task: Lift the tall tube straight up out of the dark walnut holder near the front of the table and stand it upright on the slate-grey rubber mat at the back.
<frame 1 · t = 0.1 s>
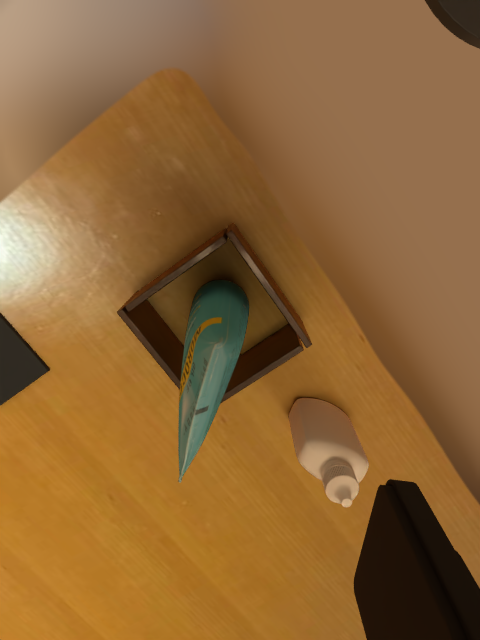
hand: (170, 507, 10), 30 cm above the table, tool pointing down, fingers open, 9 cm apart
tube holder: (219, 307, 40), on the table
eye dropper bottle: (318, 415, 43), on the table
tube: (219, 306, 40), resting in tube holder
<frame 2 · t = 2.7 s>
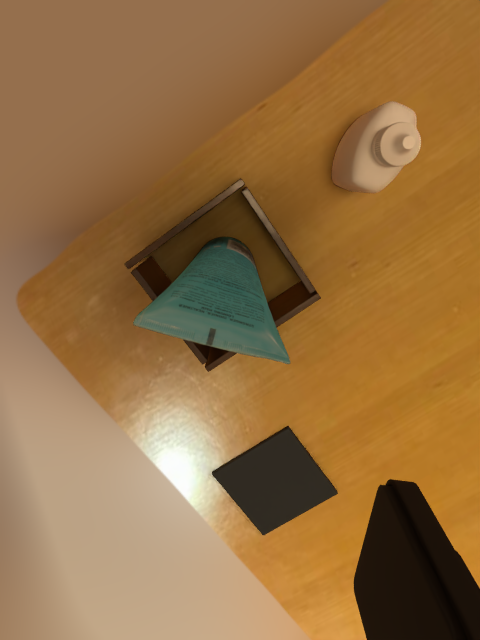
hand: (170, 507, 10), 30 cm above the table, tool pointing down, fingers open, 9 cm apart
mat: (275, 481, 46), on the table
tube holder: (226, 266, 39), on the table
eye dropper bottle: (356, 154, 37), on the table
tube: (226, 266, 39), resting in tube holder
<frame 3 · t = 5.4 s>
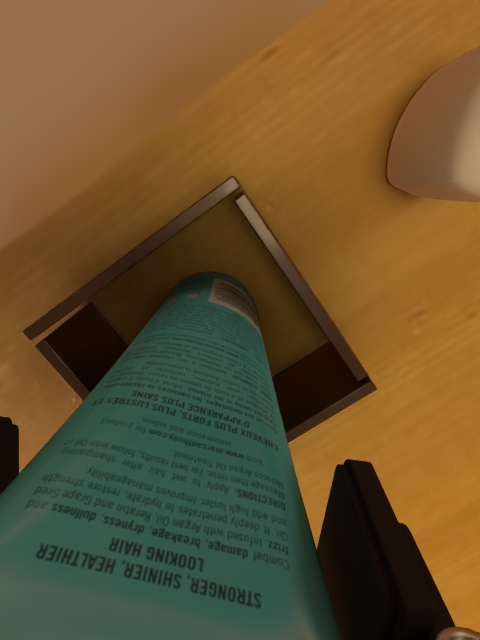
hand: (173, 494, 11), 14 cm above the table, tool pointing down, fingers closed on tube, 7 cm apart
tube holder: (212, 318, 24), on the table
eye dropper bottle: (428, 135, 22), on the table
tube: (212, 317, 25), resting in tube holder, touching gripper
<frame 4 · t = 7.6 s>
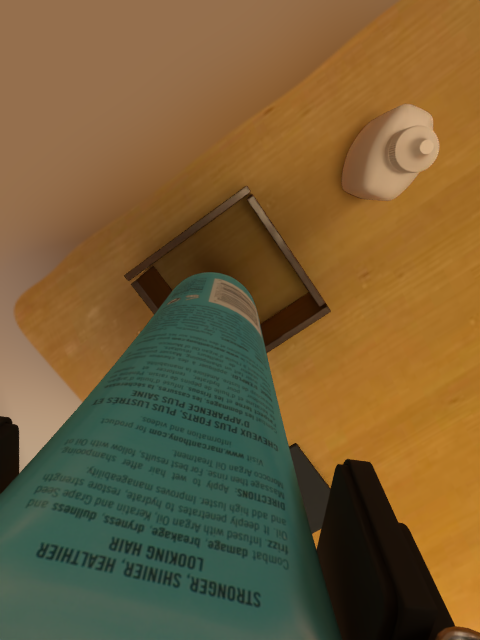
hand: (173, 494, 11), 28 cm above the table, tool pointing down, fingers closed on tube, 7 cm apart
mat: (282, 500, 44), on the table
tube holder: (231, 277, 38), on the table
eye dropper bottle: (367, 160, 35), on the table
tube: (212, 317, 25), point 13 cm above the table, touching gripper
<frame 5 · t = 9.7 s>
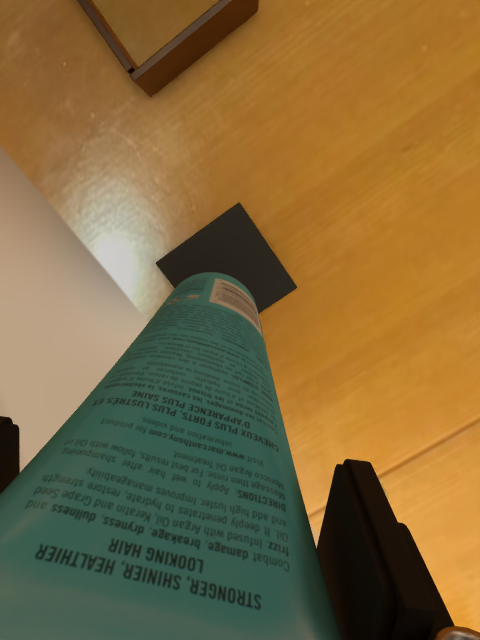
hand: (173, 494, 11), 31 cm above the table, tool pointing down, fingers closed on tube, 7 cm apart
mat: (227, 274, 41), on the table
tube: (213, 317, 25), point 17 cm above the table, touching gripper
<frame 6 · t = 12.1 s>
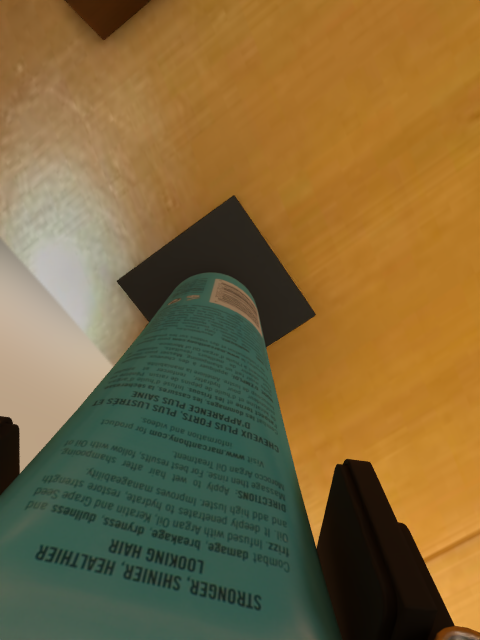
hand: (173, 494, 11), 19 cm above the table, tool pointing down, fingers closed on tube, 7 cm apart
mat: (217, 296, 29), on the table
tube: (213, 317, 25), point 5 cm above the table, touching gripper
when the fingers open (15 cm above the table, at t = 13.8 s): tube stays where it is, resting on mat.
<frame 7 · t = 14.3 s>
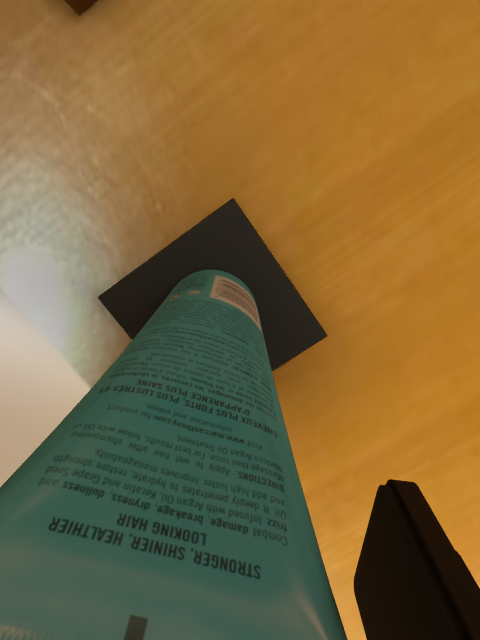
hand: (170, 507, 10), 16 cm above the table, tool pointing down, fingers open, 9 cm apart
mat: (214, 315, 25), on the table
tube: (213, 314, 25), resting on mat
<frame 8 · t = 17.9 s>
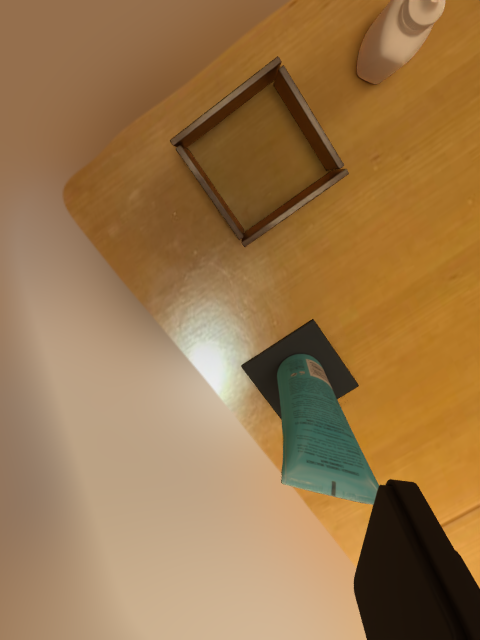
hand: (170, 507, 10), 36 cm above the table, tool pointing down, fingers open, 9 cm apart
mat: (300, 375, 49), on the table
tube holder: (257, 160, 42), on the table
eye dropper bottle: (379, 50, 40), on the table
tube: (300, 374, 48), resting on mat
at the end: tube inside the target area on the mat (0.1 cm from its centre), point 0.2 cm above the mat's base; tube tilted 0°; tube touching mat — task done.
